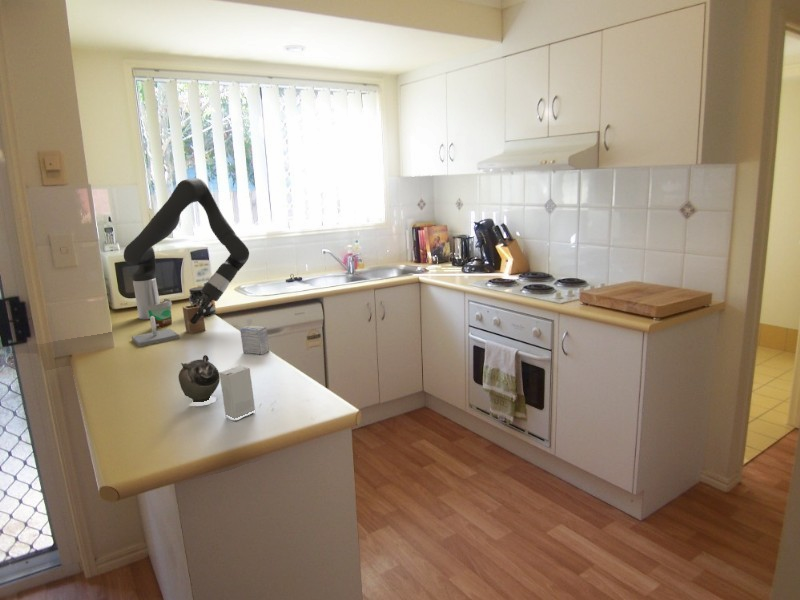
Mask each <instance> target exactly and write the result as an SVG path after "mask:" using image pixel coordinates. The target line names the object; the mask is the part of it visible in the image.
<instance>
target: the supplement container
mask: <svg viewBox="0 0 800 600" xmlns="http://www.w3.org/2000/svg"><path fill="white" fill-rule="evenodd" d="M204 286H205V285H203V286H196V287H191V288H189V291H188V292H189V296H188V298H189V299H188V300H189V305H192V304H193V302H194V301H195V299H196V298H197V297H198V296H199V297H201V296H202V295H203V293H202V292H201V289H202V288H203V287H204ZM212 303H213V304H214V305H213V306H212V308H211V309H210V310H209V311H208V312H207V314H206V315H205V316H204V317H209V316H213V315H215V314H216V312H217V309H216V301H214V300H213V301H212ZM204 313H205V312H204Z"/></svg>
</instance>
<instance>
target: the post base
mask: <svg viewBox="0 0 800 600" xmlns="http://www.w3.org/2000/svg"><path fill="white" fill-rule="evenodd" d="M149 320H150V328H151V332H148V333H143V334H139V335H138V334H137V335H132V336H131V340H133V341H132V342H134V344H136V345H137V346H138V347H140V348H141V347H145V345H147V346H150V345H149V344H151V345H154V344H153V343H156V344H159V343H158V342H161V343H164V342H163V341H165V342H169V341H168V340H170V341H173V340H172V339H175V340H179V339H180V334H179V333H177V332H175V330H172V329H171V328H168V329H167V328H166V329H162V330H157V329H158V328H156V323H155V317H154V316H151V317H150V319H149Z"/></svg>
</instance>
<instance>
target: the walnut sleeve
mask: <svg viewBox="0 0 800 600" xmlns="http://www.w3.org/2000/svg"><path fill="white" fill-rule="evenodd" d="M198 306H199V305H196V307H195V306H194V305H190V304H189V305H185V306H182V307H181V308H182V313H183V320H184V328H185V332H186V333H188V334H190V335H191V334H192V335H193V334H197V333H203V332H206V326H205V325H206V324H205V318H204V316H202V317H200V318H199V320H198V321H197V322H196V324H193V323H191V322H190V320H191V319H192V318H193V316H194V315H195V314H196V312H197V311H198V309H199V308H198ZM201 307H202V306H201ZM202 312H203V311H202Z"/></svg>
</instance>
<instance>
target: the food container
mask: <svg viewBox="0 0 800 600" xmlns="http://www.w3.org/2000/svg"><path fill="white" fill-rule="evenodd" d="M159 302H160V303H156V304H154V305H147V310H148V312H149V317H151V316H154V317H155V323H156V329H159V327H161V328H166V327H168V326H171V325H172V323H173V321H172V319H173V318H172V306H173V303H172V301H171V300H170V298H164V299H163V301H159Z"/></svg>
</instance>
